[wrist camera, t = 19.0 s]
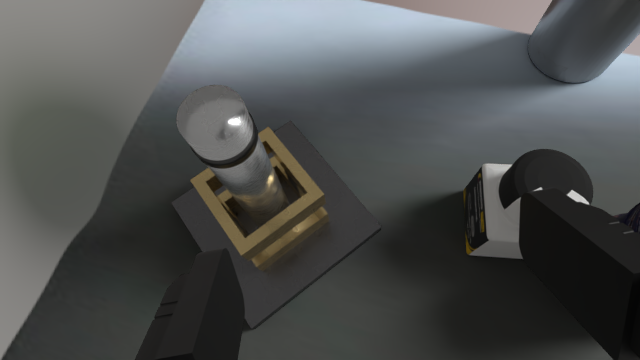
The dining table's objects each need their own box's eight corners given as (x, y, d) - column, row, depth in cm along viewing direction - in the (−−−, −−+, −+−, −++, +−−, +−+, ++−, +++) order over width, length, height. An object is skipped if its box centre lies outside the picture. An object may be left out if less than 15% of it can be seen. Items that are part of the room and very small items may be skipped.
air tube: (278, 188, 42) (222, 71, 23) (301, 218, 41) (260, 118, 22) (246, 211, 41) (161, 110, 23) (268, 242, 40) (197, 161, 21)
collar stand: (292, 126, 46) (278, 77, 38) (380, 230, 41) (388, 201, 32) (176, 207, 44) (133, 174, 35) (254, 329, 38) (226, 326, 29)
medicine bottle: (462, 189, 42) (502, 136, 31) (531, 193, 41) (598, 140, 30) (465, 255, 39) (510, 223, 28) (539, 261, 39) (615, 230, 28)
